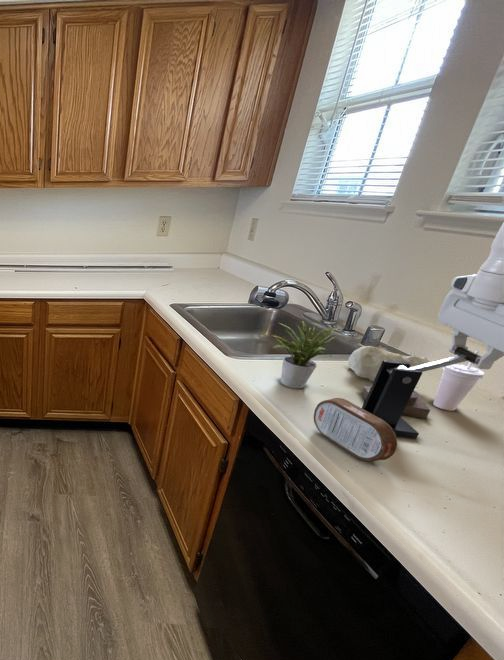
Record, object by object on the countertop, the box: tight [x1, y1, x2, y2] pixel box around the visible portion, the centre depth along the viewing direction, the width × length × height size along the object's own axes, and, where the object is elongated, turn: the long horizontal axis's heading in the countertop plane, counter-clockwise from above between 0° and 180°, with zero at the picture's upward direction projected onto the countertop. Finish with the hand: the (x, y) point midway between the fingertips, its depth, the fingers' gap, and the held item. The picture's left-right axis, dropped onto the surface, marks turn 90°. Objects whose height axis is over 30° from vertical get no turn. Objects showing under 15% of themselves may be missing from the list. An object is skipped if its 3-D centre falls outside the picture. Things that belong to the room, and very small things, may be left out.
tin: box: [313, 397, 398, 462], centre depth 80 cm, size 15×3×8 cm, turn 10°
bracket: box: [361, 360, 423, 439], centre depth 86 cm, size 11×8×14 cm
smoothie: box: [432, 350, 485, 411], centre depth 94 cm, size 6×6×14 cm
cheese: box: [347, 345, 435, 383], centre depth 108 cm, size 15×7×15 cm
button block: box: [360, 385, 431, 419], centre depth 96 cm, size 10×8×4 cm
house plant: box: [270, 320, 340, 389], centre depth 104 cm, size 14×14×16 cm
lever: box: [386, 347, 482, 379], centre depth 82 cm, size 13×6×2 cm, turn 73°
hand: (467, 360), depth 80 cm, fingers closed on lever, 5 cm apart
